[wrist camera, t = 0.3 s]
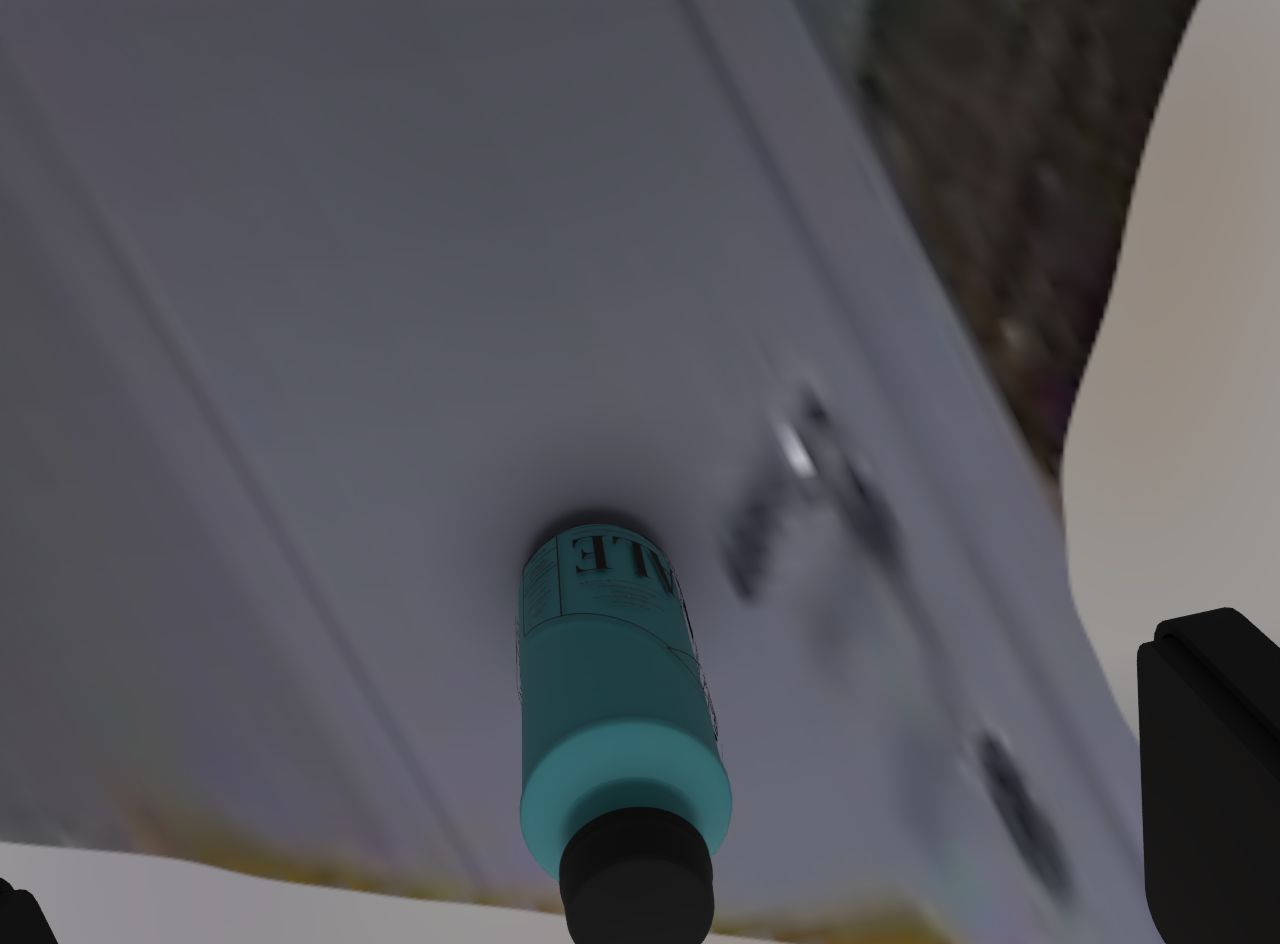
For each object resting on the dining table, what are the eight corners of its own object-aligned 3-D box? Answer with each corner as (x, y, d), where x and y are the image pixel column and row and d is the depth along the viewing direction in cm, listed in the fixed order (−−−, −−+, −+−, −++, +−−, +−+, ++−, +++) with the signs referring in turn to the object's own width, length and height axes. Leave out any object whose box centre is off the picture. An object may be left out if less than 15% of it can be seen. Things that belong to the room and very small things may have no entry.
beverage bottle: (527, 654, 51) (534, 1044, 33) (502, 510, 48) (494, 844, 30) (682, 631, 51) (776, 1004, 33) (665, 486, 49) (757, 803, 30)
